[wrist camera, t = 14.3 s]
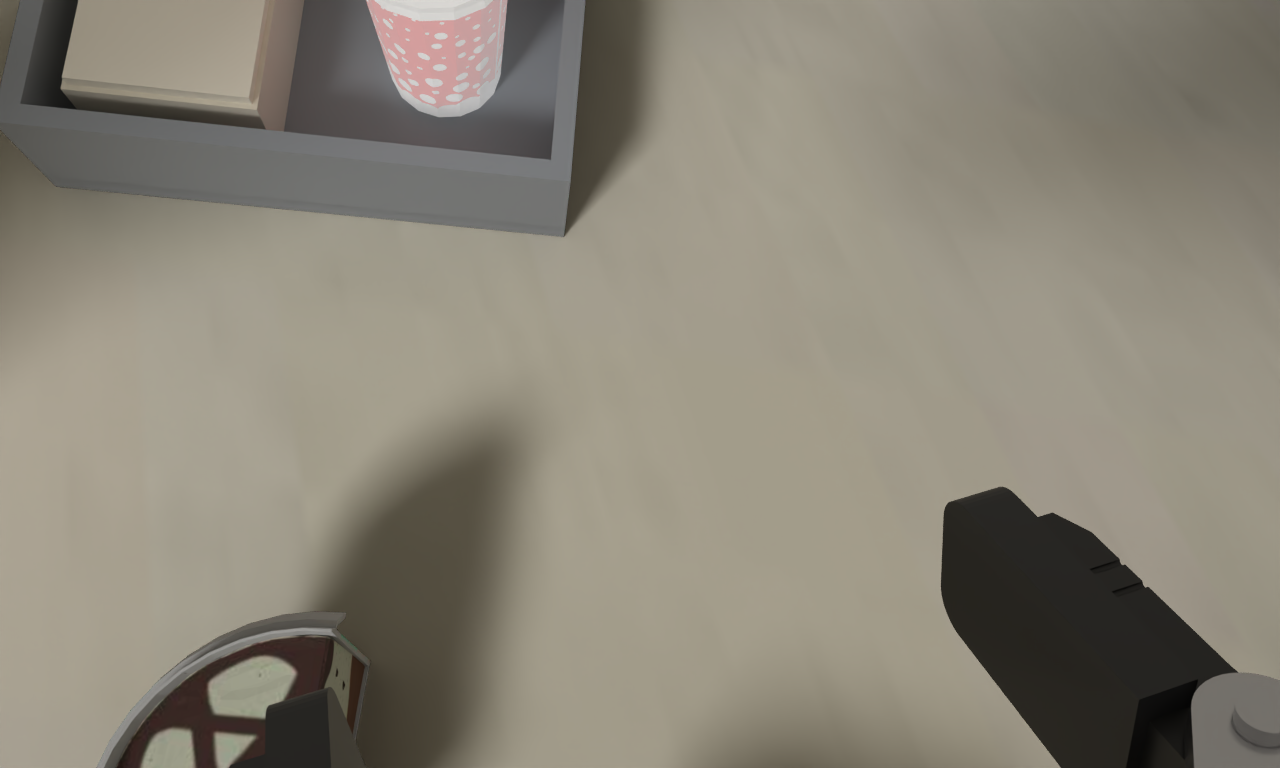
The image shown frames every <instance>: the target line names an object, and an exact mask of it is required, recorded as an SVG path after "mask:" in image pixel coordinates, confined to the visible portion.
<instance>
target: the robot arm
mask: <svg viewBox="0 0 1280 768" xmlns="http://www.w3.org/2000/svg"><path fill="white" fill-rule="evenodd" d="M941 592H942V598H943V602H944V606H945V609H946V612H947V614H948V617H949V619H950V621H951V623H952V625H953V627H954V628H955V630H956V632H957V633H958V635H959V636H960V637H961V638H962V640H963V641H964V642H965V644H966V645H967V646H968V648H969V649H970V650H971V651H972V653H973V654H974V655H975V657H976V658H977V659H978V661H979V662H980V663H981V664H982V666H983V667H984V668H985V670H986V671H987V672H988V673H989V675H990V676H991V677H992V679H993V680H994V681H995V683H996V684H997V685H998V686H999V688H1000V689H1001V690H1002V692H1003V693H1004V694H1005V696H1006V697H1007V698H1008V699H1009V701H1010V702H1011V703H1012V705H1013V706H1014V707H1015V708H1016V710H1017V711H1018V712H1019V714H1020V715H1021V716H1022V718H1023V719H1024V720H1025V721H1026V723H1027V724H1028V725H1029V727H1030V728H1031V729H1032V731H1033V732H1034V733H1035V734H1036V736H1037V737H1038V738H1039V740H1040V741H1041V742H1042V743H1043V745H1044V746H1045V747H1046V749H1047V750H1048V751H1049V753H1050V754H1051V755H1052V756H1053V758H1054V759H1055V760H1056V762H1057V763H1058V764H1059V766H1060V767H1061V768H1280V680H1277V679H1274V678H1271V677H1267V676H1263V675H1259V674H1252V673H1238V672H1237V671H1236V670H1235V669H1234V668H1233V667H1231V666H1230V665H1229V664H1228V663H1227V662H1226V661H1225V660H1224V659H1223V658H1222V657H1221V656H1220V655H1219V654H1218V653H1217V652H1216V651H1215V650H1214V649H1213V648H1211V647H1210V646H1209V645H1208V644H1207V643H1206V642H1205V641H1204V640H1203V639H1202V638H1201V637H1200V636H1199V635H1198V634H1197V633H1196V632H1195V631H1194V630H1193V629H1192V628H1191V627H1190V626H1189V625H1188V624H1186V623H1185V622H1184V621H1183V620H1182V619H1181V618H1180V617H1179V616H1178V615H1177V614H1176V613H1175V612H1174V611H1173V610H1172V609H1171V608H1170V607H1169V606H1168V605H1167V604H1166V603H1165V602H1164V601H1163V600H1161V599H1160V598H1159V597H1158V596H1157V595H1156V594H1155V593H1154V592H1153V591H1152V590H1151V589H1150V588H1149V587H1146V588H1145V587H1144V586H1143V583H1142V580H1141V579H1140V578H1139V577H1138V576H1136V575H1135V574H1134V573H1133V572H1132V571H1131V570H1130V569H1129V568H1128V567H1127V566H1126V565H1121V563H1120V559H1119V558H1118V557H1117V556H1116V555H1115V554H1114V553H1113V552H1111V551H1110V550H1109V549H1108V548H1107V547H1106V546H1105V545H1104V544H1103V543H1102V542H1101V541H1100V540H1099V539H1098V538H1097V537H1096V536H1095V535H1094V534H1093V533H1092V532H1090V531H1088V530H1086V529H1084V528H1082V527H1080V526H1078V525H1076V524H1074V523H1072V522H1070V521H1068V520H1066V519H1064V518H1062V517H1060V516H1058V515H1056V514H1054V513H1050V514H1047V515H1043V516H1040V517H1037V516H1036V515H1035V514H1034V513H1033V512H1032V511H1031V510H1030V509H1029V508H1028V507H1027V506H1026V505H1025V504H1024V503H1023V502H1022V501H1021V500H1020V499H1019V498H1018V497H1017V496H1016V495H1015V494H1014V493H1013V492H1012V491H1011V490H1009V489H1007V488H1005V487H998V488H994V489H991V490H988V491H984V492H981V493H978V494H975V495H971V496H968V497H965V498H961V499H958V500H955V501H951V502H949V503H948V504H947V505H946V507H945V510H944V521H943V547H942V572H941ZM229 768H366V767H365V764H364V762H363V759H362V757H361V754H360V752H359V749H358V747H357V744H356V742H355V739H354V737H353V735H352V732H351V730H350V727H349V725H348V722H347V720H346V717H345V715H344V712H343V710H342V708H341V705H340V703H339V700H338V698H337V695H336V693H335V691H334V690H333V688H331V687H328V688H324V689H321V690H318V691H314V692H311V693H308V694H305V695H301V696H298V697H295V698H291V699H288V700H285V701H281V702H278V703H275V704H271V705H269V706H268V707H267V709H266V716H265V754H264V755H260V756H257V757H254V758H251V759H247V760H244V761H241V762H238V763H235V764H231V765H230V767H229Z"/></svg>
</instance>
